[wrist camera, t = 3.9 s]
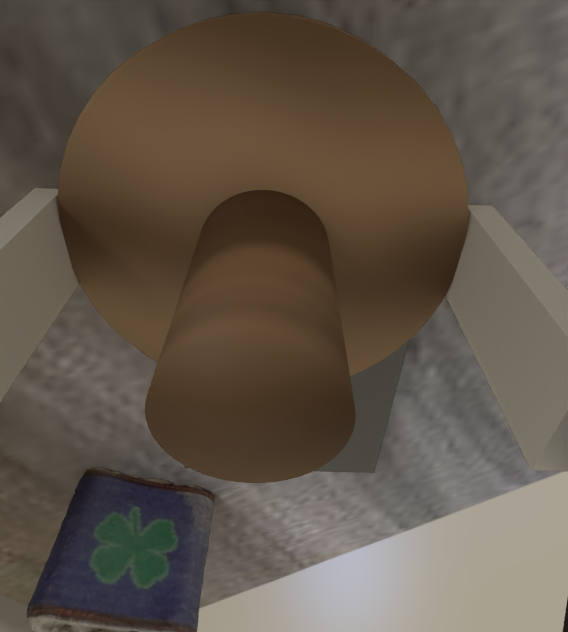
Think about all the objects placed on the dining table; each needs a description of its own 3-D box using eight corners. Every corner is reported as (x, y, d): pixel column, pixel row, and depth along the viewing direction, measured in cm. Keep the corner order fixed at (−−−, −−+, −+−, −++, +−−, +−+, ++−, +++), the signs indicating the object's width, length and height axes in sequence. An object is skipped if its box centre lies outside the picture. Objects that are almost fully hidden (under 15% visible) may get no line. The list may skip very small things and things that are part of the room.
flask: (219, 489, 32) (193, 677, 24) (209, 510, 34) (182, 693, 25) (83, 462, 30) (3, 654, 22) (80, 486, 32) (4, 673, 24)
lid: (24, 0, 10) (-310, 35, 5) (509, 23, 10) (782, 84, 5) (113, 363, 17) (23, 566, 11) (411, 372, 17) (475, 576, 11)
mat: (166, 302, 23) (161, 315, 22) (408, 311, 23) (413, 323, 22) (187, 454, 30) (184, 467, 29) (371, 459, 30) (374, 472, 29)
